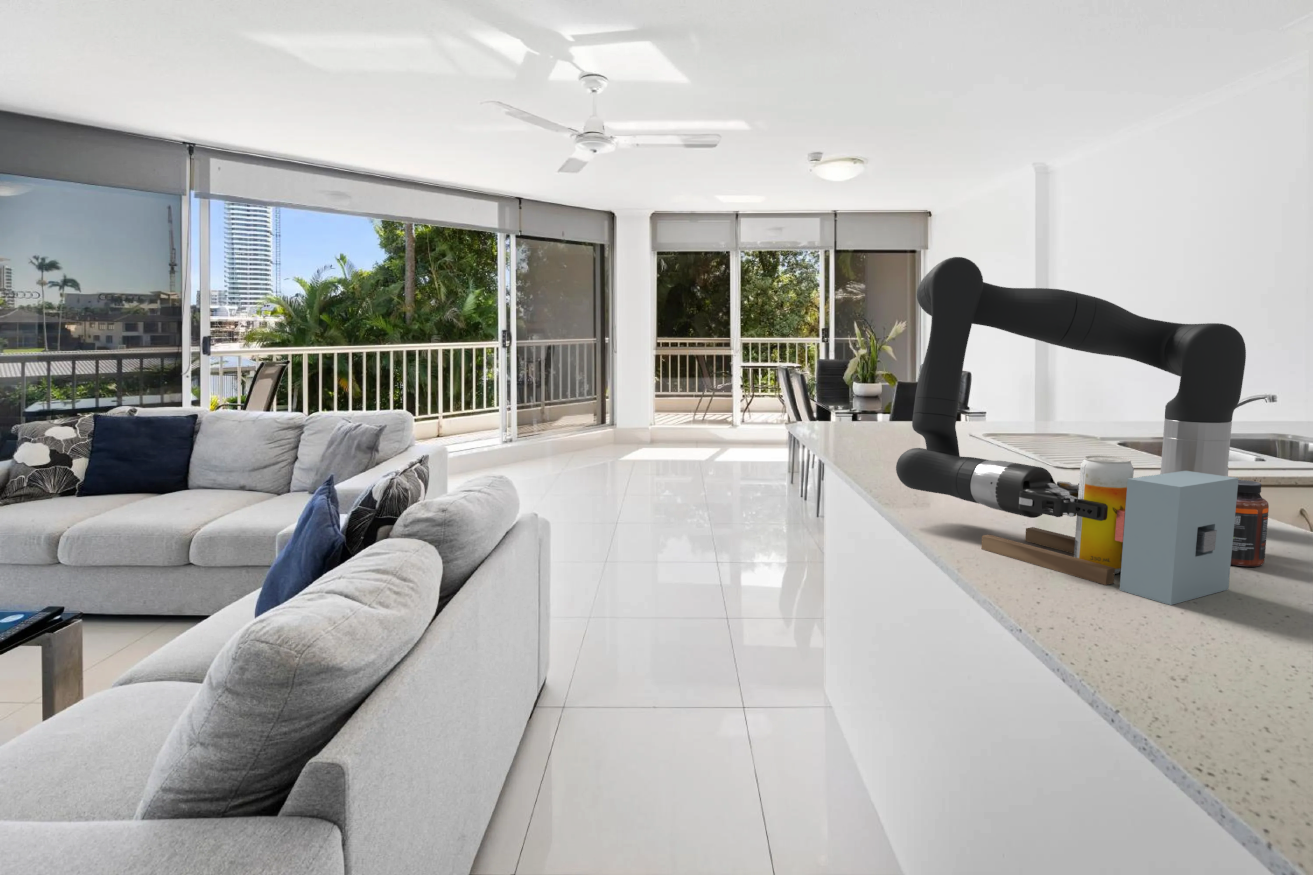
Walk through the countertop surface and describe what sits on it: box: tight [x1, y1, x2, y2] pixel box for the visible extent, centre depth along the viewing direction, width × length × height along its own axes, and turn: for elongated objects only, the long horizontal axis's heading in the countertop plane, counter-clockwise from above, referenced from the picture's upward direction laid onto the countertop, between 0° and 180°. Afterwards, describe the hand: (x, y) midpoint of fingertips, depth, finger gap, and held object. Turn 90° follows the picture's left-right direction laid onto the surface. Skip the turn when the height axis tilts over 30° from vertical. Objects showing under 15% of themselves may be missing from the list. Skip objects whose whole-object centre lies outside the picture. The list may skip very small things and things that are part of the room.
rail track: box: [980, 526, 1115, 586], centre depth 106 cm, size 11×19×2 cm, turn 26°
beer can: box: [1073, 454, 1135, 575], centre depth 100 cm, size 6×6×15 cm
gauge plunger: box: [1115, 509, 1217, 552], centre depth 93 cm, size 4×10×4 cm, turn 26°
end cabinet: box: [1119, 471, 1240, 606], centre depth 92 cm, size 12×6×14 cm, turn 116°
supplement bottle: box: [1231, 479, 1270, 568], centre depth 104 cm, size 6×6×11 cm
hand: (1121, 510), depth 98 cm, fingers closed on beer can, 6 cm apart
